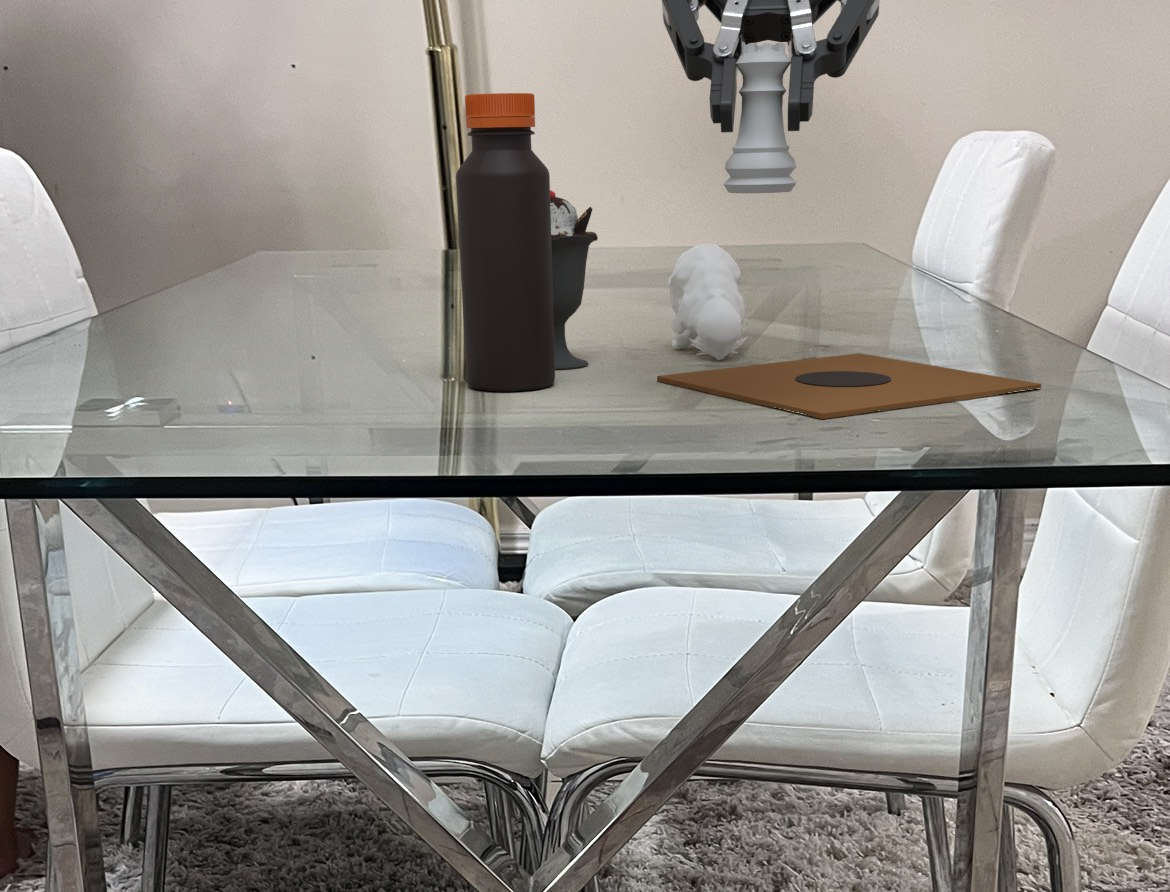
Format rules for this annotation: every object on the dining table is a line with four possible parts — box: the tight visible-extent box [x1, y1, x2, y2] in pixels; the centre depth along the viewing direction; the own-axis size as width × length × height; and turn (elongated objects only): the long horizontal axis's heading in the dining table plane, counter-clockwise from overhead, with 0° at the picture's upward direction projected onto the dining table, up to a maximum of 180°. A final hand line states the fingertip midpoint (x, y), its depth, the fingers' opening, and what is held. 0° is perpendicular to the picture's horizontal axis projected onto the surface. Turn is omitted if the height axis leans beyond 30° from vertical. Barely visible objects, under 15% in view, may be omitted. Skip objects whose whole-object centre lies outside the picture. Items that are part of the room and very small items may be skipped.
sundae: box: [550, 189, 599, 371], centre depth 113 cm, size 7×7×15 cm
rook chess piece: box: [722, 42, 797, 194], centre depth 84 cm, size 4×4×8 cm
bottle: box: [455, 92, 556, 393], centre depth 103 cm, size 7×7×20 cm
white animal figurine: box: [667, 243, 748, 361], centre depth 119 cm, size 6×8×12 cm
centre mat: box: [656, 352, 1042, 420], centre depth 104 cm, size 20×20×1 cm
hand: (760, 119), depth 82 cm, fingers closed on rook chess piece, 3 cm apart
